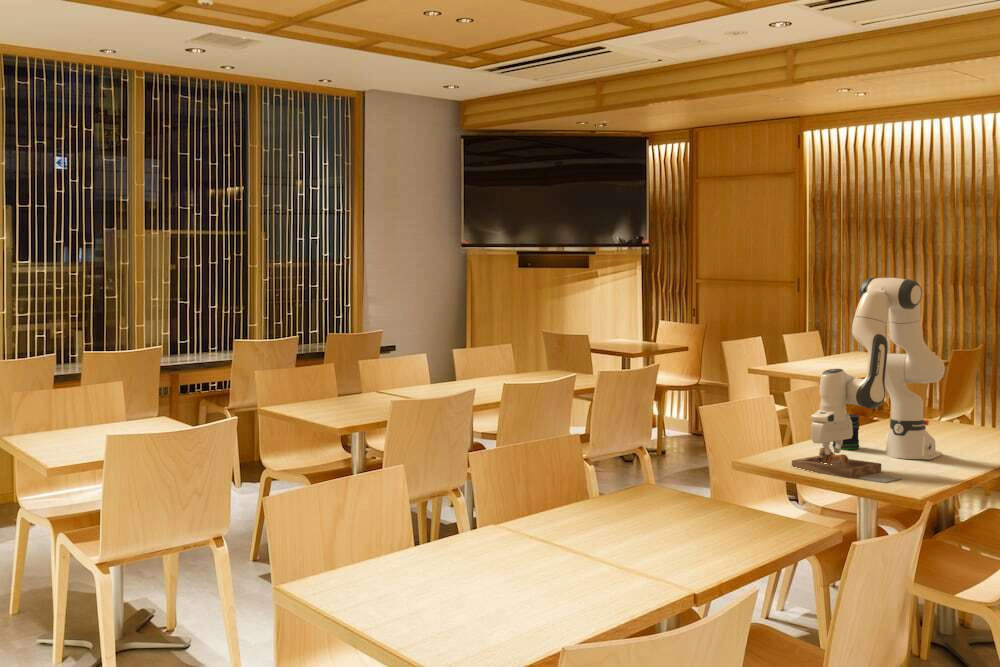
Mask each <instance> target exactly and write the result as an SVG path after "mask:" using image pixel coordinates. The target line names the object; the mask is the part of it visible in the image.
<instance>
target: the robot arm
mask: <svg viewBox="0 0 1000 667" xmlns="http://www.w3.org/2000/svg"><path fill="white" fill-rule="evenodd" d="M858 293H859V298H860V299H859V302H858V304H857V307H856V309H855V313H854V317H853V320H852V326H851V334H852V336H853V338H854V339H855V341H856V342H858V343H859V344H860V345H861V346H863V347H864V348H865V349H866V351H867V354H868V361H867V370H866V376H865V377H864V378H860V377H855V376H853V375H850V374H848V373H847V372H845V370H844V369H842V368H830V369H826V370H824V371H823V372H822V373H821V375H820V380H819V397H820V402H819V409H817V410H816V412H814V413H813V414H811V415H810V420H811V426H810V427H811V428H810V429H811V432H810V433H811V434H810V436H811V441H812V443H813V444H820V445H821V444H822V448H824V449H825V454H826V455H830V454H831V451H832V449H831V446H830V445H831V443H833V441H835V442H836V446H835V447H833V453H834V454H839V453H841V451H842V450H841V446H842V443H843V440H845V439H850V438H852V436H853V427H852V421H851V419H850V416H849V414H850V413H848V412H847V405H848V404H849V405H852V406H853V405H854V406H859V407H863V408H866V409H870V410H873V409H876V408H878V407H879V406H881V404H883V402H884V400H885V398H886V391H887V394H888V395H889V399H890V409H891V410H890V411H891V413H890V414H891V415H890V416H891V418H890V419H889V428H890V431H888V432H887V433H886V434H887V437H886V446H885V447H886V448H885V450H883V453H884V454H886V455H887V457H889V456H890V458H896V459H902V460H903V459H905V460H932V459H933V460H934V459H935V458H937V457H940V456H942V455H943V452H942V451H938V450H936V448H937V447H936V440H935V438H934V437H933V436H932V435H931V434H930V432H928V431H927V430H926V426H929V424H930V420H928V419H924V401H923V399H922V396H920V395H918V394H917V393H915V392H913V391H911V390H910V389H909V388H908V387H907V384H908V383H909V384H931V383H932V384H933V383H939V382H940V381H941V380H942V379H943V377H944V374H945V371H946V366H945V363H944V361H943V359H941V357H940V356H938V355H937V354H935V353H934V352H933V351H931V349H930V348H929V347H928V345H927V344H926V342H925V340H924V336H923V330H922V319H921V318H922V316H921V308H920V302H921V299H922V295H923V294H922V293H923V291H922V287H921V285H920V284H919V282H917V281H916V280H913V279H908V278H907V279H904V278H900V277H899V278H898V277H875V276H874V277H868V278H866V279H864V281H863V282H862V283H861V285H860V287H859V292H858ZM887 323H888V329H889V330H888V331H889V339H890V340H891V342H892V343H893V344H894V345H896V346H898V347H900V348H902V349H903V350H904V351H905V352H906V353H888V350H889V346H888V340H887V338H886V326H887ZM846 404H847V405H846Z"/></svg>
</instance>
